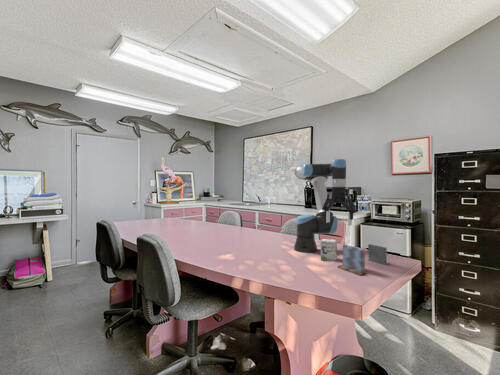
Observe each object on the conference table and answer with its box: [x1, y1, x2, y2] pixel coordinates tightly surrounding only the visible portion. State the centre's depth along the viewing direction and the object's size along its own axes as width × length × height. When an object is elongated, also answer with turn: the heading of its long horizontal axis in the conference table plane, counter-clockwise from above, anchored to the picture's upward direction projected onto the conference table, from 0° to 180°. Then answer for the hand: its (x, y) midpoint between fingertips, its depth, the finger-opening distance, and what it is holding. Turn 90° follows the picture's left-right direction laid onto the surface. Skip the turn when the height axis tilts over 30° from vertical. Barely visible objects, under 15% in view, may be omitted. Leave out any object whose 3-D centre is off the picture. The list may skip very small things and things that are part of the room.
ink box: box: [320, 238, 338, 263], centre depth 151 cm, size 9×5×12 cm, turn 62°
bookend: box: [367, 243, 391, 266], centre depth 143 cm, size 10×4×9 cm, turn 29°
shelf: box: [337, 244, 368, 277], centre depth 138 cm, size 14×27×12 cm, turn 119°
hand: (338, 223), depth 149 cm, fingers open, 13 cm apart
